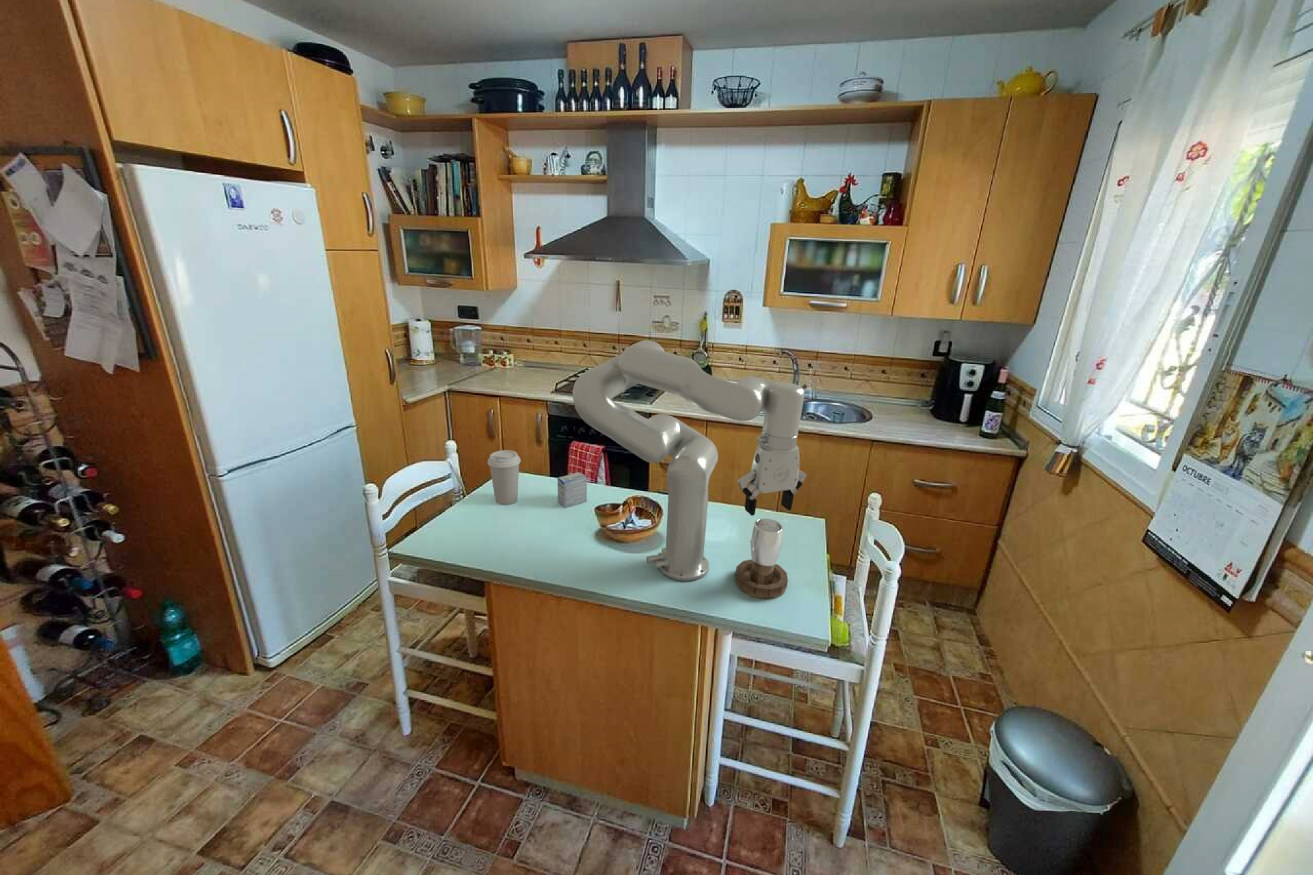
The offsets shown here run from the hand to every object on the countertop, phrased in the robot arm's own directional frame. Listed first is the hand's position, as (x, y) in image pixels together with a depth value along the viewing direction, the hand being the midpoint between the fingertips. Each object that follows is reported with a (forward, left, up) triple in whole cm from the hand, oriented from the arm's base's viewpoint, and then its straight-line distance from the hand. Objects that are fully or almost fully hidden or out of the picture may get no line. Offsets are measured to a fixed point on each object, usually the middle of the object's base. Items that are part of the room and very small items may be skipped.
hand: (768, 510), depth 118 cm
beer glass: (+1, 0, -19) cm, 19 cm away
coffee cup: (-53, +61, -20) cm, 83 cm away
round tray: (0, 0, -20) cm, 20 cm away
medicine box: (-34, +54, -20) cm, 66 cm away
